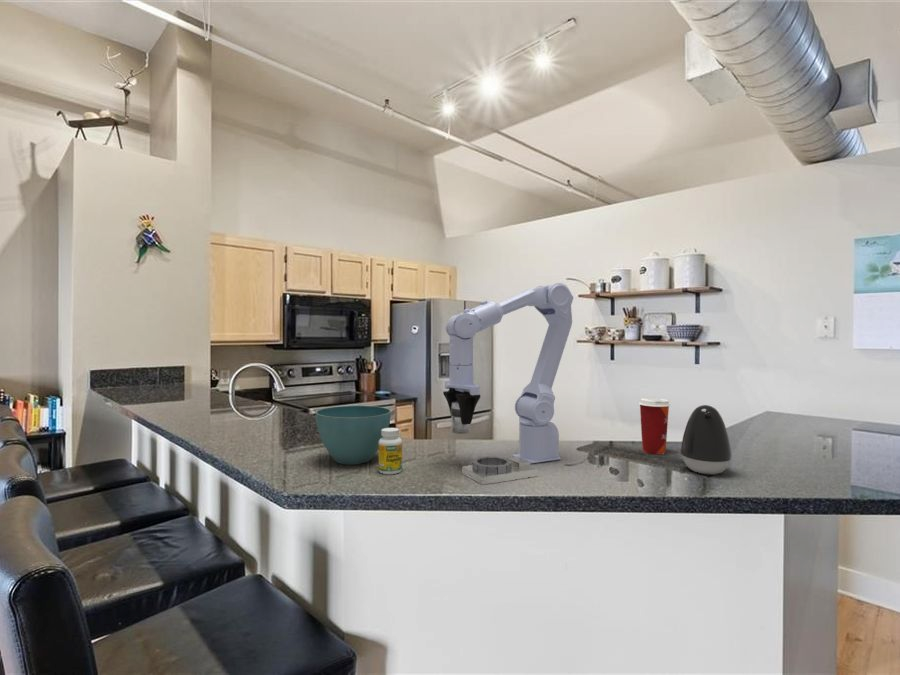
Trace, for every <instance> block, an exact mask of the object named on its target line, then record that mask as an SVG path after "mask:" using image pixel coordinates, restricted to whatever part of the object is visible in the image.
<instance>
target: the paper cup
mask: <svg viewBox="0 0 900 675" xmlns="http://www.w3.org/2000/svg"><path fill="white" fill-rule="evenodd" d="M638 405H639V409H640V410H639V412H640V430H641V431H640V432H641V448H642V452H643V453H644V452H645V454H649V455H654V454H662V455H664V454H663V453H665V454H666V450H667V440H668V439H667V438H668V425H669V424H668V423H669V412H670V410H669V408H670V406H671V405H670V403H669V399H665V398H658V397H657V398H656V397H642V398H640V400H639V402H638Z"/></svg>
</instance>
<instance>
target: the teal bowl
mask: <svg viewBox="0 0 900 675" xmlns="http://www.w3.org/2000/svg"><path fill="white" fill-rule="evenodd" d="M391 416H392V409H390V408H387V407H383V406H377V405H374V406H373V405H339V406H331V407H330V406H329V407H324V408H320V409H317V410H315V421H316V427H317V430H318V434H319V437H320V440H321V443H322V444H323V446H324V448H325V450H326V451H327V452H328V453H329V455H330V456H331V458H332V459H333V460H334V461H335V462H337V463H338V464H342V465H360V464H361V465H362V464H366V463H368V462H370V461H371V460H372V459H373V458H374V456H375V455H376V454H377V452H379V440H380V439H381V438H383V436H382V435H381V430H382V429H384V428H390V427H389V426H390V423H391ZM365 462H366V463H365Z"/></svg>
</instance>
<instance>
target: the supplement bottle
mask: <svg viewBox="0 0 900 675" xmlns="http://www.w3.org/2000/svg"><path fill="white" fill-rule="evenodd" d="M381 435H382V436H383V438H381V439H380V440H379V450H378V472H379V473H380V474H382V473H383V474H382V475H396V474H399V473H401V472H402V471H403V441H402V439H401V437H399V435H400V429H399V428H397V427H389V428H384V429H382V430H381Z"/></svg>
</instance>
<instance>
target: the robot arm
mask: <svg viewBox="0 0 900 675" xmlns="http://www.w3.org/2000/svg"><path fill="white" fill-rule="evenodd" d="M573 300H574V296H573V294H572V292H571V291H570V289H569V287H568V285H566V284H564V283H561V282H556V283H553V284H547V285H538V286H536V287H533V288H529V289H525V290H523V291H521V292H519V293H517V294H514V295H513V296H511V297H508V298H506V299H504V300H502V301H499V302H494V301H492V300H490V301H488V300H483V301H480V305H477V306H474V307H473V308H471V309H470V308H465V309H463V313H462V314H455V315H452V316H451V317H450V318H449V319H448V320H447V323H446V325H445V332H446V334H447V335H448V336H449V350H448V351H449V352H448V353H449V354H448V355H449V356H448V357H449V360H448V362H449V364H448V366H449V368H448V369H449V370H448V372H449V373H448V374H449V376H448V377H449V380H444V389H446V390H445V391H443V396H444V398H445V400H446V402H447V405H448V408H449V409H448V410H449V412H450V414H451V407H452V402H453V401H456V400H458V403H459V407H460V415H461V422H462V424H463V425H465V424H470V425H472V420H473V417H474V412H475V409H476V406H477V404H478V403H479V401H480V399H481V390H480V388H481V387H480V386H479V385H477V384H476V383H474V337H475V336H476V334H477V333H479V332H482V331H484V330H486V329H489V328H491V327H492V326H495V325H497V324H499V323H500V322H502V320H503V316H504V315H507V314H509V313H513V312H515V311H517V310H520V309H523V308H525V307H527V306H528V307H534V308H535V310H537V311H538V312H539V313H540V314H541V315H542V317H544V319H545V320H546V321H547V323H548V327H547V330H546V333H545V336H544V338H543V342H542V346H541V348H540V351H539V355H538V358H537V361H536V363H535V364H536V365H535V368H534V370H533V374H532V376H531V379H530V382H529V383H528V384H527V385H525V387H524V388H523V390H522V392H521V394H520V395H519V396H518V397H517V399H516V401H515V403H514V411H515V414H516V415H517V416H518V418H519V423H518V424H519V425H518V426H519V427H518V429H519V431H518V432H519V434H518V439H519V440H518V441H519V446H518V447H519V448H518V451H519V452H518V453H513V454H512V455H511V456H512V457H517V456H518V457H520V458H523V459H525V460H528V461H530V464H538V463H544V462H552V461H559V460H561V459H562V458H561V457H560V456H559V453H560V450H559V449H560V447H559V446H560V445H559V444H560V440H559V439H560V438H559V437H560V434H559V430H558V427H557V425H556V424H555V423H553V422H551V421H552V419H553V417H554V415H555V407H554V405H555V404H554V403H555V400H556V396H555V395H554V392H553V389H552V388H553V386H554V382H555V379H556V375H557V372H558V369H559V366H560V364H561V361H562V360H561V359H562V357H563V354H564V350H565V348H566V345H567V341H568V338H569V334H570V332H571V330H572V324H573V316H572V313H573V312H572V303H573ZM450 417H451V418H452V416H451V415H450Z"/></svg>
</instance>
